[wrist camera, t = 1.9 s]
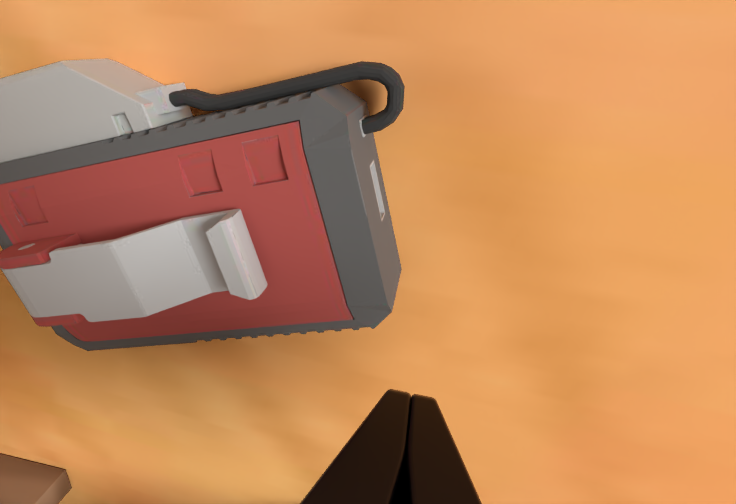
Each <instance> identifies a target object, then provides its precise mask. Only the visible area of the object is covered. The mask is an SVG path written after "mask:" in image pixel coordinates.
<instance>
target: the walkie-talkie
mask: <svg viewBox="0 0 736 504" xmlns="http://www.w3.org/2000/svg"><path fill="white" fill-rule="evenodd" d="M364 79H370V80H374V81H378V82H380V83H382V84H383V85H385V87H386V89H387V91H388V95H387V106H386V107H385V109H384V110H382V111H381V112H379V113H377V114H375V115H371V116H369V111H368V106H367V102H366V101H365V100H363V99H362V98H360V97H358V96H357V95H355V94H354V93H352V92H351V91H349V90H348V89H346V88H345V87H343V86H342V85H340V84H341V83H345V82H350V81H354V80H364ZM324 87H326V88H324ZM306 91H307V92H306ZM403 101H404V84H403V82H402V80H401V77H400V75H399V74H398V73H397V72H396V71H395V70H394V69H392V68H391V67H389V66H387V65H385V64H382V63H375V62H357V63H353V64H349V65H345V66H341V67H337V68H333V69H329V70H325V71H320V72H316V73H312V74H308V75H304V76H300V77H296V78H292V79H288V80H283V81H279V82H275V83H271V84H267V85H263V86H259V87H255V88H250V89H245V90H240V91H235V92H230V93H225V94H220V95H215V94H209V93H206V92H203V91H200V90H197V89H186V86H185V84H184V83H178V84H172V85H166V86H165V85H163V84H161V83H159V82H157V81H155V80H153V79H151V78H149V77H147V76H145V75H143V74H141V73H139V72H137V71H135V70H133V69H131V68H129V67H127V66H125V65H123V64H121V63H119V62H116V61H113V60H110V59H88V60H69V61H60V62H56V63H53V64H49V65H46V66H42V67H39V68H35V69H32V70H28V71H25V72H21V73H18V74H14V75H11V76H7V77H4V78H0V245H1V247H2V249H3V250H2V251H1V252H0V268H1V270H2V271H3V273H4V274H5V276H6V278H7V279H8V281H9V282H10V284H11V285H12V287H13V288H14V290H15V292H16V293H17V295H18V296H19V298H20V299H21V301H22V302H23V304H24V306H25V307H26V309H27V310H28V312H29V313H30V315H31V317H32V318H33V320H34V321H35V323H36V324H37V325H38V326H46V327H47V326H51V327H52V328H53V330H54V331H55V333H56V334H57V335H59V336H60V337H62V338H64V339H65V340H67V341H68V342H70V343H72V344H73V345H75V346H78V347H80V348H82V349H85V350H87V351H90V350H103V349H116V348H129V347H142V346H155V345H168V344H180V343H193V342H197V340H205V341H211V340H212V339H220V340H226V339H227V338H236V339H241V338H242V337H246V336H250V337H252V338H256V337H258V336H260V335H267V336H268V337H270V336H273V335H274V334H284V335H290V333H297V332H299V333H301V334H306V333H307V332H311V331H317V332H318V333H321V332H324V330H335V331H341V330H342V329H349V328H352V329H353V330H359V328H362V327H371V328H372V329H374V328H375V327H376V326H377V325H378V324H379V323H380V322H381V321H382V320H384V319H385V318H386V317H387V316H388V315H389V314H390V313H391V312H392V309H393V305H394V300H395V295H396V291H397V286H398V282H399V277H400V273H401V264H400V260H399V255H398V250H397V245H396V240H395V236H394V231H393V226H392V221H391V216H390V212H389V207H388V202H387V197H386V192H385V188H384V183H383V178H382V173H381V168H380V164H379V159H378V154H377V149H376V144H375V140H374V135H373V132H377V131H380V130H382V129H384V128H385V127H387V126H389V125H390V124H392V123H393V122H394V121H395V120H396V118H397V117H398V115H399V114H400V112H401V111H402V109H403ZM190 107H194V108H197V109H201V110H204V111H215V112H212V113H208V114H205V115H198V116H195V117H192V116H193V115H192V112H191V110H190ZM217 110H222V111H217ZM190 117H191V118H190ZM187 118H188V119H187Z"/></svg>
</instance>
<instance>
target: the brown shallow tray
mask: <svg viewBox="0 0 736 504" xmlns="http://www.w3.org/2000/svg"><path fill="white" fill-rule="evenodd" d="M71 488H72V487H71V485H70V482H69V479H68V476H67V473H66V471H65V470H64V469H60V468H56V467H52V466H48V465H44V464H40V463H36V462H31V461H27V460H23V459H19V458H15V457H11V456H7V455H3V454H0V504H58V503H59V502H60V501H61V500H62V499H63V497H64V496H65V495H66V494H67V493H68V492H69V490H70V489H71Z"/></svg>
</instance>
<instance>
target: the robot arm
mask: <svg viewBox="0 0 736 504" xmlns="http://www.w3.org/2000/svg"><path fill="white" fill-rule="evenodd" d="M300 504H482V503H481V501H480V499H479V496H478V494H477V492H476V490H475V487H474V485H473V483H472V481H471V478H470V476H469V474H468V472H467V469H466V467H465V465H464V462H463V460H462V458H461V456H460V453H459V451H458V449H457V447H456V444H455V442H454V440H453V438H452V435H451V433H450V431H449V429H448V426H447V424H446V422H445V420H444V417H443V415H442V413H441V410H440V408H439V406H438V404H437V402H436V400H435V399H434V398H432V397H427V396H423V395H418V394H414V395H412V397H411V395H410V394H409V393H407V392H403V391H398V390H393V389H390V390H388V391H387V392H386V393H385V394H384V395H383V396H382V398H381V399H380V400H379V402H378V403H377V404H376V406H375V407H374V408H373V409H372V411H371V412H370V413H369V415H368V416H367V417H366V419H365V420H364V421H363V422H362V424H361V425H360V426H359V428H358V429H357V430H356V432H355V433H354V434H353V435H352V437H351V438H350V439H349V441H348V442H347V443H346V445H345V446H344V447H343V448H342V450H341V451H340V452H339V454H338V455H337V456H336V458H335V459H334V460H333V461H332V463H331V464H330V465H329V467H328V468H327V469H326V471H325V472H324V473H323V474H322V476H321V477H320V478H319V480H318V481H317V482H316V484H315V485H314V486H313V487H312V489H311V490H310V491H309V493H308V494H307V495H306V497H305V498H304V499H303V500H302V502H301V503H300Z"/></svg>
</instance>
